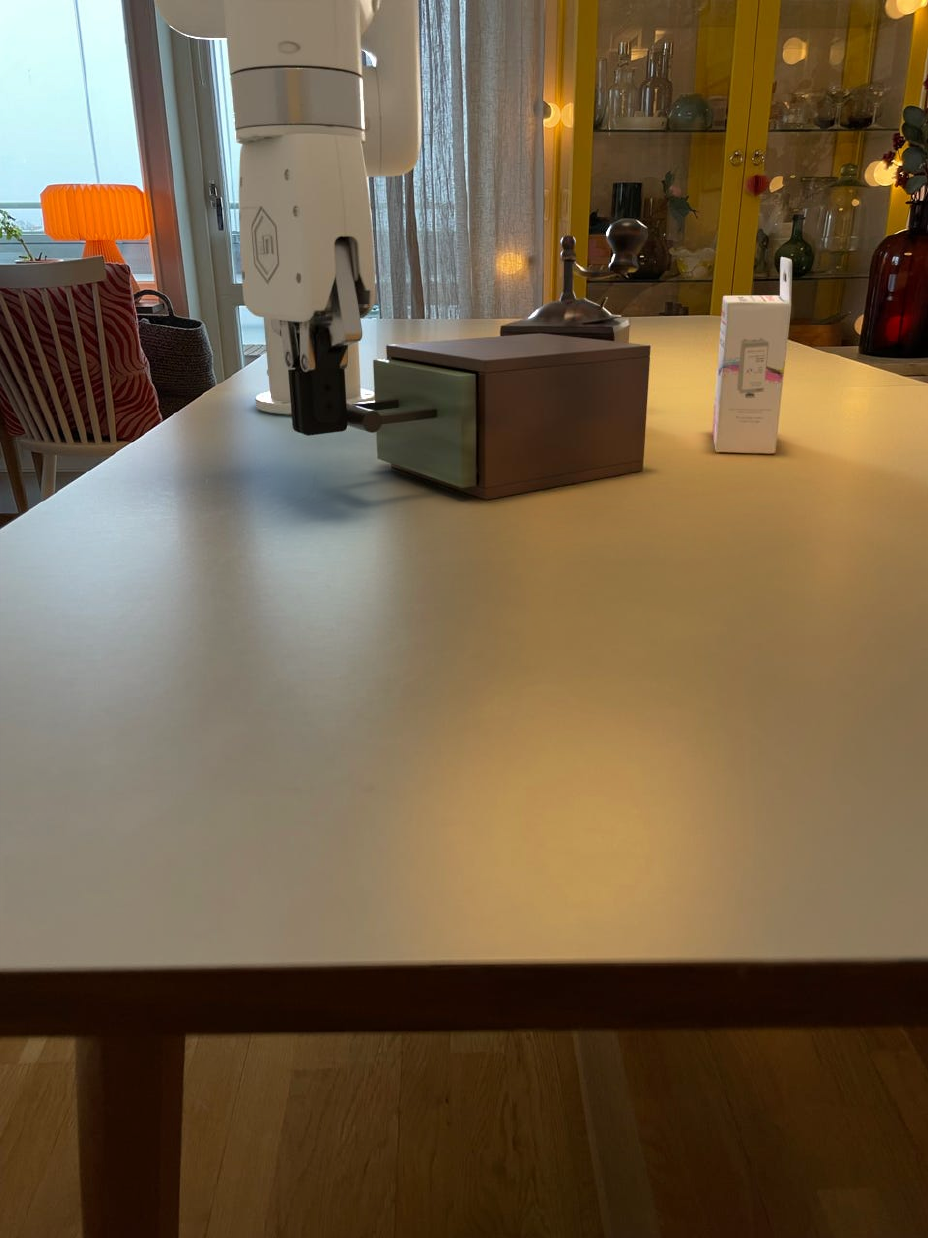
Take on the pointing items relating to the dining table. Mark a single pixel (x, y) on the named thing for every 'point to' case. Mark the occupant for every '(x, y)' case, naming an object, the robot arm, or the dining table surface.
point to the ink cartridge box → (752, 369)
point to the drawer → (423, 419)
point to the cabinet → (548, 407)
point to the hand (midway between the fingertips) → (320, 430)
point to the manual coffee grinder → (582, 313)
